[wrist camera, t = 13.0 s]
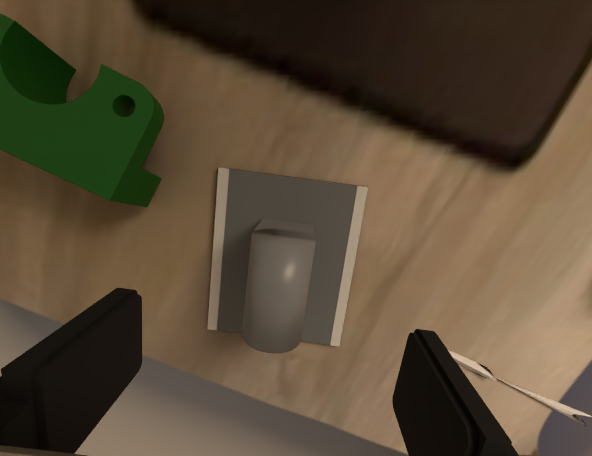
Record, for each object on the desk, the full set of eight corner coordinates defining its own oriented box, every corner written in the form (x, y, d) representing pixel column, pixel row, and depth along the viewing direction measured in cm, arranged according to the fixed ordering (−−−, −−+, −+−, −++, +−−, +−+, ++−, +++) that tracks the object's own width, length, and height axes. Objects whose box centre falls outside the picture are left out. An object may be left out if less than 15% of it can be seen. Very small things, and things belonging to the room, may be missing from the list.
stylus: (398, 305, 21) (616, 410, 22) (394, 298, 22) (604, 399, 23) (369, 348, 22) (581, 446, 23) (367, 340, 23) (570, 435, 24)
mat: (220, 167, 20) (218, 167, 19) (366, 186, 20) (368, 187, 19) (209, 326, 23) (207, 329, 22) (338, 343, 23) (339, 346, 22)
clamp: (182, 134, 24) (196, 114, 16) (148, 200, 24) (145, 215, 16) (-5, 29, 18) (-130, -83, 10) (-51, 114, 18) (-216, 68, 10)
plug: (262, 218, 20) (246, 240, 14) (313, 225, 20) (317, 250, 14) (252, 320, 22) (232, 377, 16) (298, 326, 22) (296, 385, 16)
